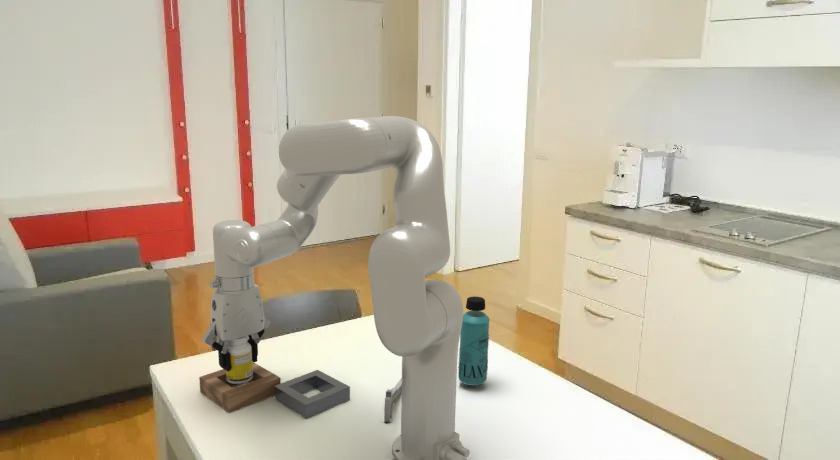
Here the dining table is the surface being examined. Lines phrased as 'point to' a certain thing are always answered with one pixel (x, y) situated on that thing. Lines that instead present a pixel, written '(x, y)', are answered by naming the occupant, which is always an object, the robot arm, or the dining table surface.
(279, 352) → the dining table surface
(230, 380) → the supplement bottle
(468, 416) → the dining table surface
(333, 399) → the socket block
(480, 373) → the beverage bottle
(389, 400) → the caliper
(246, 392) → the block
